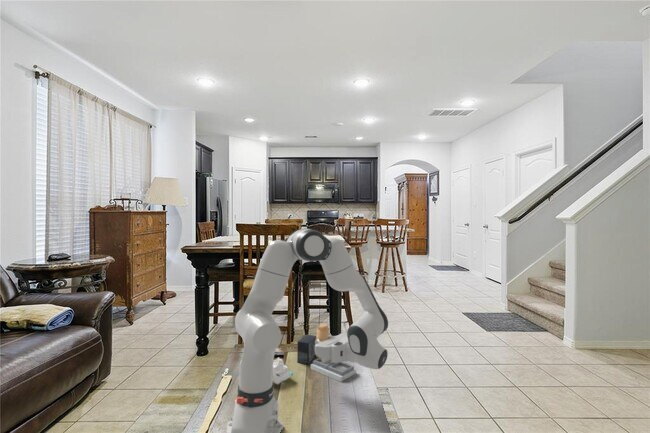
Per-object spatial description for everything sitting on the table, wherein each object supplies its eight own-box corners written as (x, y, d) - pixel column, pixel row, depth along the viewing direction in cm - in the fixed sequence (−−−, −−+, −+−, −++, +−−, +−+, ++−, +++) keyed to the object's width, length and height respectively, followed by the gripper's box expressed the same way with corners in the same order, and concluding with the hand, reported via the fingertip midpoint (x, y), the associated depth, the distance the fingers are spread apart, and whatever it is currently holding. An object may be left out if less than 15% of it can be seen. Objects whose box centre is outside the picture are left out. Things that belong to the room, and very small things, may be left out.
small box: (304, 354, 180) (304, 333, 180) (316, 356, 178) (316, 335, 178) (296, 362, 170) (296, 341, 170) (309, 364, 168) (309, 342, 168)
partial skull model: (288, 381, 145) (273, 363, 146) (274, 394, 146) (259, 376, 148) (297, 368, 156) (283, 352, 158) (284, 381, 158) (270, 365, 159)
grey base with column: (356, 373, 160) (356, 341, 159) (340, 381, 151) (341, 348, 151) (326, 361, 171) (326, 331, 171) (310, 368, 163) (311, 337, 163)
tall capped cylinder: (330, 355, 146) (331, 325, 146) (322, 359, 142) (323, 328, 142) (322, 352, 149) (322, 323, 149) (314, 355, 146) (314, 325, 145)
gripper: (363, 333, 145) (336, 326, 154) (332, 347, 130) (304, 338, 138) (362, 348, 146) (336, 340, 154) (331, 364, 130) (304, 354, 139)
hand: (321, 339), depth 146 cm, fingers closed on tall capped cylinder, 5 cm apart
